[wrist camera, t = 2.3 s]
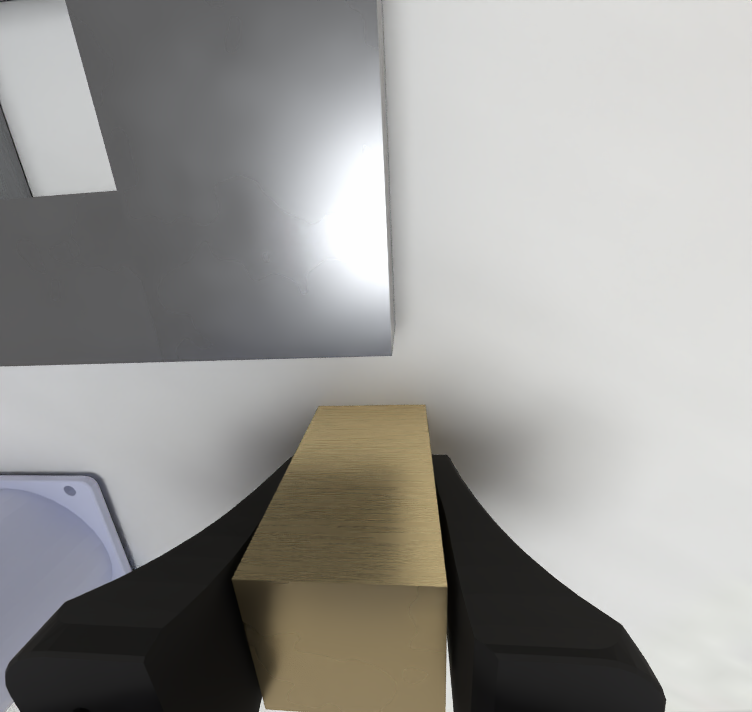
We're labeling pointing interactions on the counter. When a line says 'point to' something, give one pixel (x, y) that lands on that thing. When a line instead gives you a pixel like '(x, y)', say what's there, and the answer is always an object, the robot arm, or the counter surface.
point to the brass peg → (350, 570)
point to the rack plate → (212, 192)
